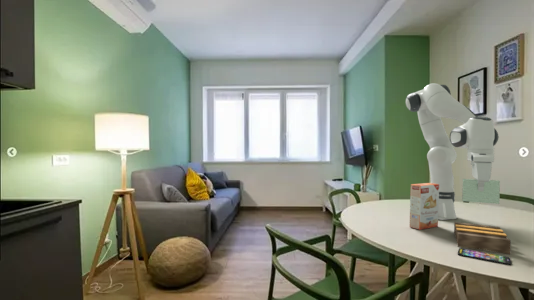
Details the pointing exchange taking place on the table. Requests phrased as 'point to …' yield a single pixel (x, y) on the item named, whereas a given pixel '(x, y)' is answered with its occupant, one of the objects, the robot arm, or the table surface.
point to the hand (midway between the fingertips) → (479, 190)
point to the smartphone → (484, 256)
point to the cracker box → (424, 205)
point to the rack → (481, 237)
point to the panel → (486, 196)
